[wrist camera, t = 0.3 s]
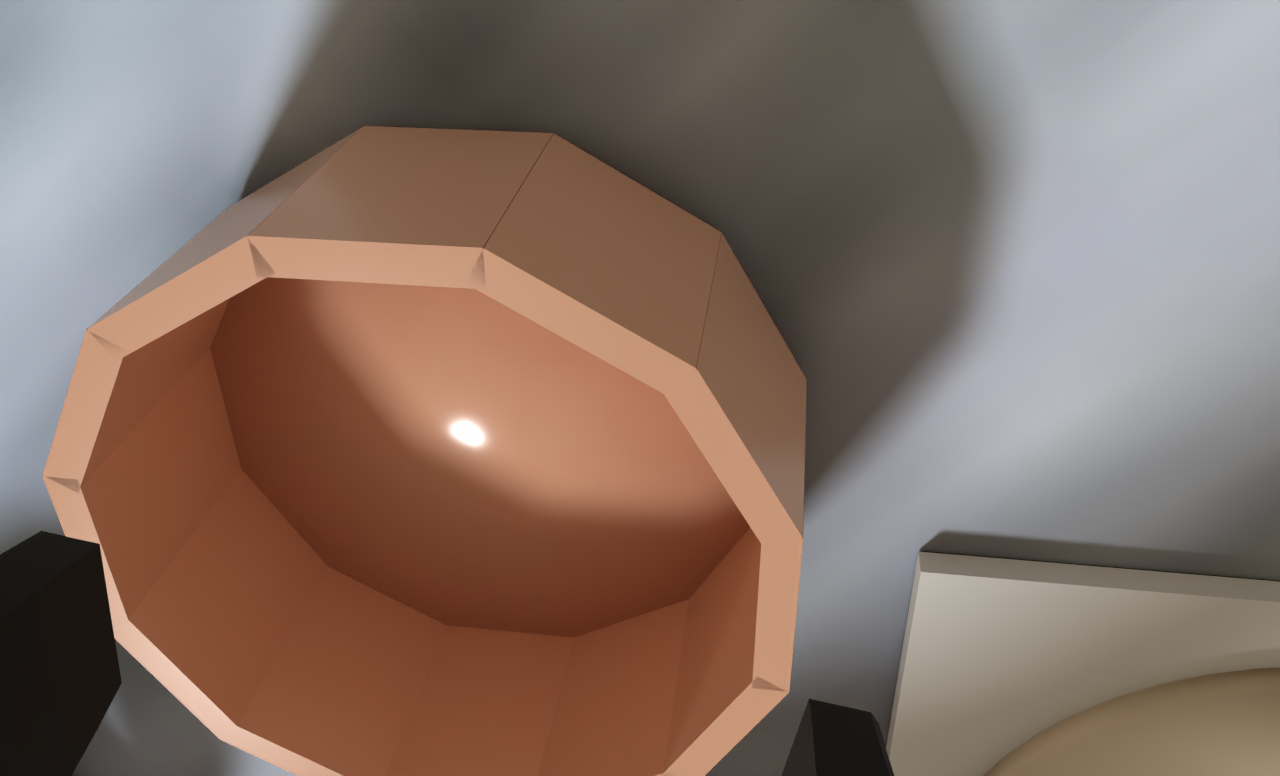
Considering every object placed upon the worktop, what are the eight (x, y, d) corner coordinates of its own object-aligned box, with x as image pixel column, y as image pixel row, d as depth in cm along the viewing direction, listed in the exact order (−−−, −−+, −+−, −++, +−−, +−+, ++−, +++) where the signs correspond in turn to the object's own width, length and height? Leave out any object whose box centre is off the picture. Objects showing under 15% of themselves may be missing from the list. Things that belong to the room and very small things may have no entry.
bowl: (782, 657, 24) (774, 859, 20) (268, 607, 26) (160, 785, 21) (826, 130, 18) (828, 265, 13) (136, 105, 19) (-56, 219, 15)
